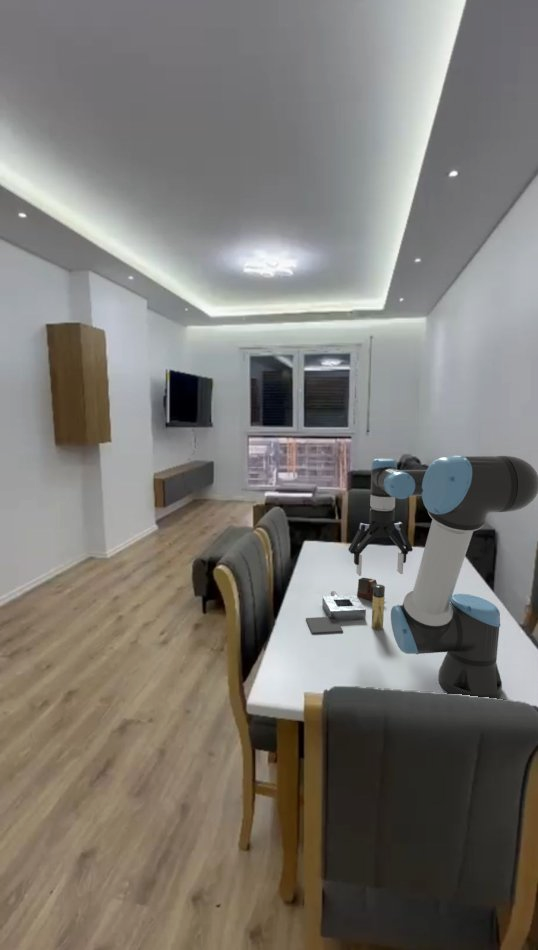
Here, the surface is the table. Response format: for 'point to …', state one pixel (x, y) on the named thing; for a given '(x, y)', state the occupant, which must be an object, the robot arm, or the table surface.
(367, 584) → the electronic device
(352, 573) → the table surface
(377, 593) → the gold and black cylinder
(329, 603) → the block
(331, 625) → the pad
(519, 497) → the robot arm
